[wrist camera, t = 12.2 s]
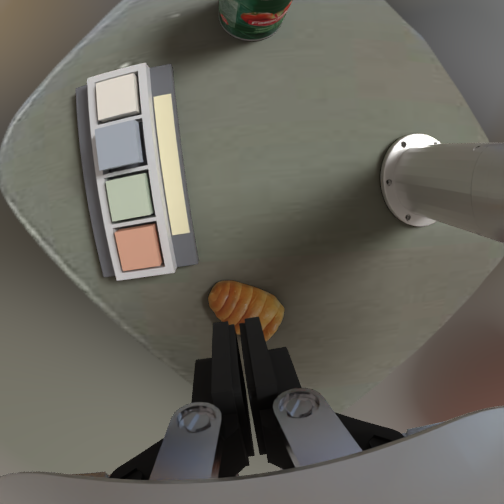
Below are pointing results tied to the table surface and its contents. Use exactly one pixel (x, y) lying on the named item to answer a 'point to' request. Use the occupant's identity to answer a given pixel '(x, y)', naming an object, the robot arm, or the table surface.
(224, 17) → the canned tomato
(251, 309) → the pastry
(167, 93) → the keypad
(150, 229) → the terracotta key
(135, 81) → the ivory key
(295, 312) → the table surface
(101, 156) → the slate key
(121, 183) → the sage key
